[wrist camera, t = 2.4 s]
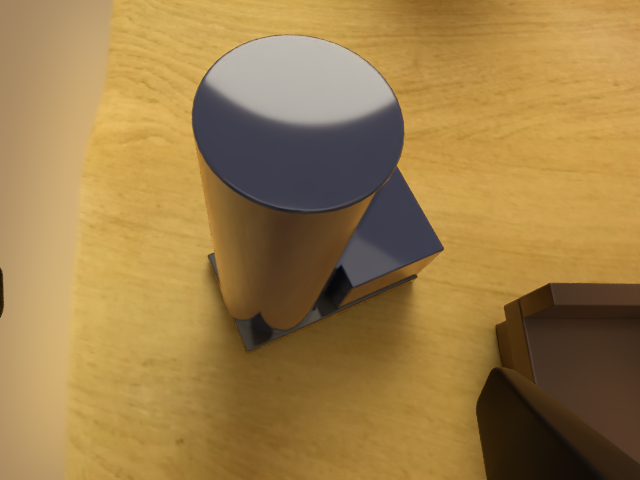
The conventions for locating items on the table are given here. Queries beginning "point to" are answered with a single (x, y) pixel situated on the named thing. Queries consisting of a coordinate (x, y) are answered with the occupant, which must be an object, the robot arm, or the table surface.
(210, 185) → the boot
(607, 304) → the wooden wall shelf
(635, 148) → the table surface
